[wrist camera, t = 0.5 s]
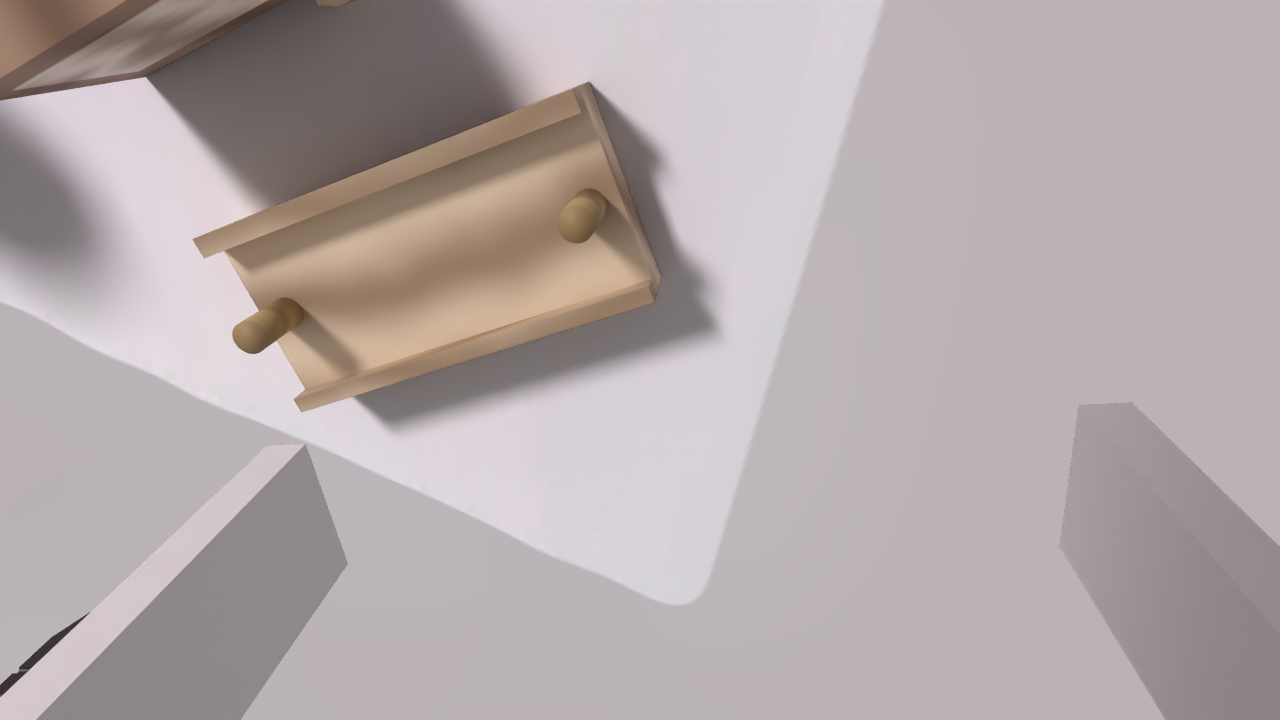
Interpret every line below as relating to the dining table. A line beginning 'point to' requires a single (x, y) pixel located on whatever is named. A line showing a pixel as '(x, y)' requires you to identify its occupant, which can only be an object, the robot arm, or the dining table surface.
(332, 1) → the block
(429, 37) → the dining table surface
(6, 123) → the dining table surface
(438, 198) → the ledge
